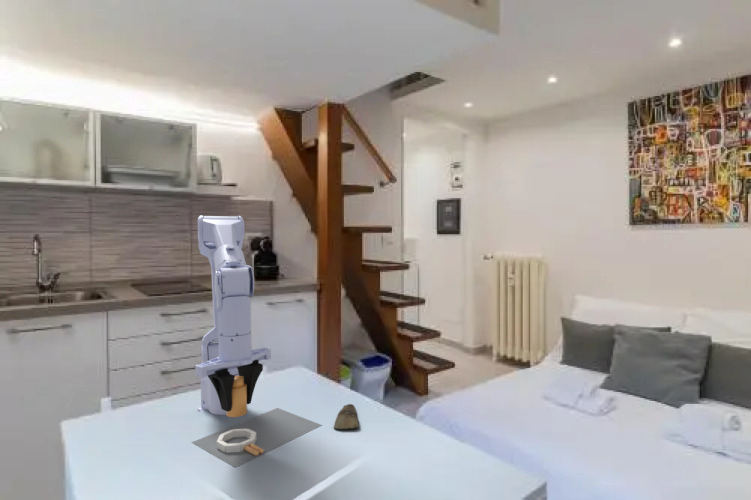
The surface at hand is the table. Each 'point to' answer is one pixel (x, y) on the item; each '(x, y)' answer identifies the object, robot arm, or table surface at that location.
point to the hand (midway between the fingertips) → (236, 406)
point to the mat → (255, 436)
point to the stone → (347, 418)
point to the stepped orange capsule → (238, 398)
